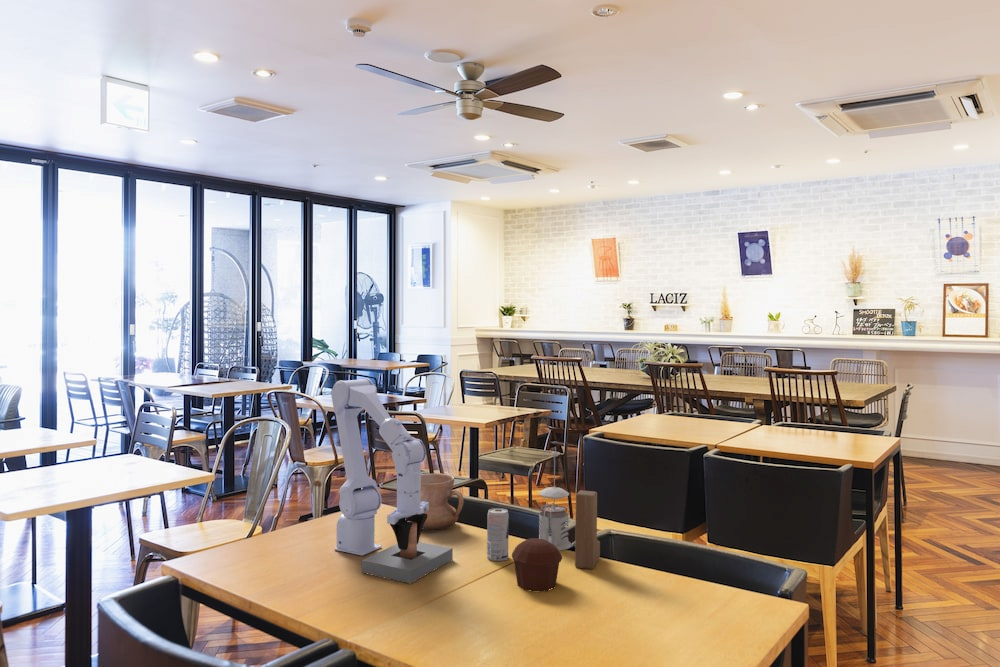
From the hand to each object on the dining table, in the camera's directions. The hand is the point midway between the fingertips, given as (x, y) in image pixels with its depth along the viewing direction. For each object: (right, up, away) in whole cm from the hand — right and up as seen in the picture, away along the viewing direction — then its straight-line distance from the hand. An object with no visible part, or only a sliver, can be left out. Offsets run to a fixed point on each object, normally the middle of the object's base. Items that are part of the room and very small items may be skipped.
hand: (408, 546), depth 173 cm
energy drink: (+22, -5, +7) cm, 23 cm away
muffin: (+31, -6, -11) cm, 33 cm away
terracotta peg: (0, -3, 0) cm, 3 cm away
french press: (+36, -5, +17) cm, 40 cm away
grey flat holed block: (0, -5, 0) cm, 5 cm away
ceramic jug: (+3, -4, +33) cm, 33 cm away
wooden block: (+44, -5, +4) cm, 44 cm away
